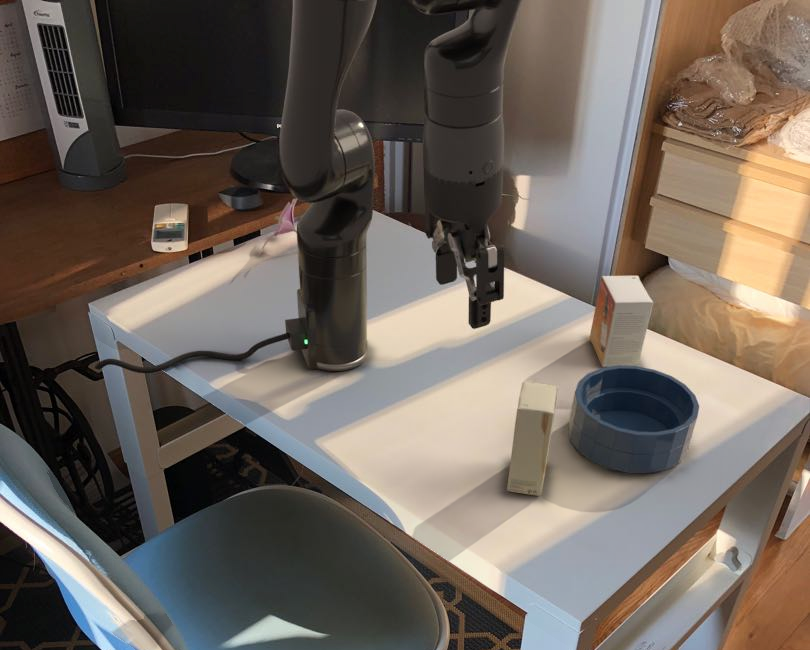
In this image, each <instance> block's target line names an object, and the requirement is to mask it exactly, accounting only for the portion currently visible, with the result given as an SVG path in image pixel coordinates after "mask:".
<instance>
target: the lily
mask: <svg viewBox="0 0 810 650" xmlns="http://www.w3.org/2000/svg"><path fill="white" fill-rule="evenodd" d="M297 201H298V199H297V198H293V199H292V201H291V202H290V201H288V202H287V204H286V205H285V207H284V208H283V210H282V211H281V213H280V214H278V215H277V214H275V215H274V216H273V217H272V218H271V219H272V220H276V221H278V225H277V227H276V228H275V230H274V232H273V233H272V234H271V235H270V236H269V237H267V238H266V240H265V242H264V244H263V245H262V247H261V249H260V251H259V253H258V255H261V253H262V252H263V249H264V248H265V246H266V245H267V243H268V242H269V241H270V240H271V239H272V238H273V237H274V239H277V238H278V236H281V235H283V234H288V233H292V232H295V234H297V228H296V226H295V220H294V211H295V210H294V209H295V205H296V204H297Z"/></svg>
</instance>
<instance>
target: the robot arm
mask: <svg viewBox="0 0 810 650" xmlns="http://www.w3.org/2000/svg"><path fill="white" fill-rule="evenodd" d="M377 1H378V0H292V16H291V31H290V44H289V59H288V73H287V80H286V81H287V82H286V89H285V95H284V102H283V109H282V117H281V124H280V131H279V138H278V161H279V164H278V165H279V171H280V174H281V176H282V177H281V178H282V179H283V182H284V184H285V186H286V188H287V190H288V191H289V192H290V194H291V195H292V196H293V197H294V199H296V198H297V201H300V202H303V203H308V204H310V205H309V206H308V208H307V209H306V210H305V211H304V212H303V214H302V215H301V216H300V217H299V219H298V221H297V224H296V230H297V233H296V243H297V256H298V257H297V259H298V260H297V261H298V278H299V288H298V289H297V290H296V297H297V314H298V315H297V316H298V317H297V318H295V317H294V318H288V319H287V318H286V319H284V322H285V323H284V325H285V326H284V327H285V333H282V334H279V335H275V336H272V337H269V338H266V339H264V340H262V341H261V340H260V341H259V342H256V343H255V344H254V345H253V346H251V347H250V348H249V349H248V350H247V351H245V352H242V353H233V354H232V353H225V352H218V351H213V350H193V351H190V352H185V353H183V354H180V355H178V356H176V357H173V358H172V359H171V358H170V359H169V360H168V361H165V362H162V363H160V364H157V365H153V366H138V365H134V364H131V363H128V362H126V361H123V360H120V359H117V358H105V359H102V360H101V361H99V362H98V363H97V364H96V365H95V366H94V369H95V370H101V369H103V368H104V367H106V366H109V365H112V366H116V367H120V368H122V369H125V370H127V371H130V372H133V373H138V374H152V373H157V372H161V371H164V370H166V369H169V368H171V367H173V366H175V365H177V364H179V363H181V362H184V361H186V360H188V359H193V358H200V357H205V358H206V357H207V358H214V359H219V360H226V361H241V360H246V359H248V358H250V357H251V356H252V355H254V354H255V353H256V352H257V351H258V350H260V349H262V348H264V347H266V346H269V345H272V344H275V343H279V342H282V341H285V340H287V342H288V344H289V347H290V349H291V351H292V352H296V351H301V353H302V355H303V358H304V360H305V363H306V364H307V367H308V369H309V370H313V369H317V370H322V371H328V372H340V371H347V370H351V369H354V368H356V367H359V366H360V365H363V363H364V362H365V361H366V360H367V358H368V356H369V355H368V353H369V350H368V299H367V298H368V291H367V290H368V289H367V288H368V287H367V285H368V281H367V279H368V278H367V277H368V275H367V272H368V270H367V266H368V265H367V251H368V249H367V238H368V237H367V234H368V230H369V228H370V226H371V223H372V220H373V213H374V195H375V194H374V193H375V177H376V175H375V174H376V173H375V172H376V161H375V160H376V159H375V158H376V157H375V149H374V143H373V139H372V136H371V134H370V131H369V129H368V127H367V125H366V123H365V122H364V121H363V120H362V118H361V117H360V116H358V114H356V113H354V112H353V111H350V110H348V109H343V108H342V109H338V105H339V99H340V95H341V91H342V87H343V85H344V82H345V79H346V77H347V74H348V72H349V70H350V68H351V66H352V64H353V63H354V60H355V58H356V56H357V54H358V52H359V49H360V47H361V45H362V44H363V41H364V39H365V37H366V34H367V33H368V31H369V28H370V25H371V23H372V20H373V17H374V14H375V11H376V7H377ZM407 2H408V3H409V5H410V6H412V7H413V8H414V9H415V10H416V11H418V12H419V13H421V14H424V15H427V16H440V15H441V16H442V15H449V14H454V13H459V12H460V13H461V12H466V11H472V13H471V14H470V16H469V17H468V19H467V20H466V21H465V22H464V23H462V24H461V25H459V26H458V27H455V28H454V29H451V30H449V31H447V32H444V33H443V34H441V35H439V36H437V37H436V38H433V40H431V41H430V42H429V44H428V45H427V47H426V48H425V50H424V53H423V62H422V67H423V68H422V72H423V107H424V108H423V109H424V113H423V114H424V116H423V117H424V118H423V126H422V163H423V164H422V165H423V166H422V167H423V195H424V197H423V198H424V204H425V205H424V216H425V217H424V221H425V222H424V227H425V229H424V230H425V236H426V238H427V239H429V240H431V239H432V242H431V248H432V251H433V252H434V253H435V280H436V281H437V283H438V284H439V285H441V286H443V285H447V284H450V283H454V282H455V281H456V280H457V279H458V275H459V277H460V278H461V279H464V280H465V284H466V288H467V292H468V325H469V326H470V327H471V329H472V330H476V329H480V328H483V327H486V326H488V325H489V324H490V323H491V316H492V313H491V312H492V303H494V302H498V301H501V300H504V298H505V297H504V296H505V248H504V244H503V243H501V242H499V243H496V244H493V243H492V242H490V240H491V233H490V229H489V226H488V225H489V224H488V222H489V221H490V219H491V217H493V215H494V214H495V213H496V212H497V211H498V210H499V208H500V207H501V205H502V202H503V185H504V184H503V182H504V157H505V156H504V155H505V125H504V112H503V111H504V109H503V106H504V105H503V104H504V81H505V79H504V78H505V65H506V59H507V55H508V50H509V46H510V42H511V38H512V35H513V32H514V28H515V24H516V22H517V21H516V20H517V17H518V13H519V11H520V8H521V5H522V2H523V0H407ZM436 219H438V220H437V222H436V223H435V224H434V221H435V220H436ZM473 261H474V264H475V266H473V267H468V265H467V263H470V262H473Z"/></svg>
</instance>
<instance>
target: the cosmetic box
mask: <svg viewBox="0 0 810 650" xmlns="http://www.w3.org/2000/svg"><path fill="white" fill-rule="evenodd" d="M558 389H559V387H558V385H554V384H547V383H539V382H532V381H526V380H523V381H522V382H521V387H520V391H519V397H518V403H517V408H516V414H515V422H514V429H513V437H512V438H513V439H512V445H511V447H512V448H511V454H510V462H509V471H508V478H507V486H506V491H507V492H512V493H517V494H523V495H531V496H539V497H540V496H542V492H543V488H544V481H545V475H546V470H547V469H546V468H547V462H548V457H549V451H550V445H551V444H550V443H551V437H552V432H553V426H554V420H555V413H556V407H557V400H558Z"/></svg>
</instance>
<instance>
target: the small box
mask: <svg viewBox="0 0 810 650" xmlns="http://www.w3.org/2000/svg"><path fill="white" fill-rule="evenodd" d="M653 305H654V301H653V300H652V298H651V297H650V295H649V293H648V292H647V290H646V288H645V287H644V284H643V283H642V281H641V279H640V276H639V275H602V276H601V277H600V283H599V288H598V293H597V297H596V303H595V308H594V312H593V317H592V322H591V323H592V324H591V329H590V334H589V341H590V342H591V344H592V346H593V349H594V351H595V353H596V356H597V358H598V361H599V363H600V366H601V368H605V367H611V366H618V365H621V366H638V367H639V363H640V359H641V355H642V351H643V347H644V343H645V339H646V335H647V330H648V327H649V323H650V318H651V314H652V311H653Z"/></svg>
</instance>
